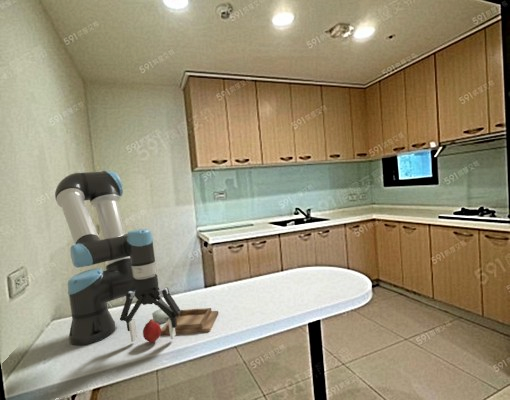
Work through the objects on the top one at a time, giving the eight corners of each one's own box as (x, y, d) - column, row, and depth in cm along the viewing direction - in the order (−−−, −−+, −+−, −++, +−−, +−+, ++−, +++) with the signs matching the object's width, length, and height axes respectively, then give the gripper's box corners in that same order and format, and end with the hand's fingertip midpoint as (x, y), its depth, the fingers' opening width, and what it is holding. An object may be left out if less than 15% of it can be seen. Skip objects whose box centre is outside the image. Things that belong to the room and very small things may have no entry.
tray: (159, 334, 107) (159, 327, 107) (174, 316, 121) (173, 309, 121) (209, 331, 105) (208, 324, 105) (218, 313, 119) (217, 307, 119)
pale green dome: (150, 324, 116) (149, 316, 116) (157, 316, 123) (156, 308, 123) (167, 323, 115) (166, 315, 115) (174, 314, 122) (173, 307, 122)
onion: (145, 349, 98) (141, 325, 98) (143, 341, 103) (140, 318, 103) (163, 343, 100) (160, 320, 100) (161, 336, 106) (158, 313, 105)
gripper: (103, 282, 98) (112, 346, 99) (177, 276, 95) (186, 341, 97) (115, 275, 105) (124, 335, 107) (185, 269, 103) (193, 330, 104)
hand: (153, 338), depth 102 cm, fingers open, 13 cm apart
